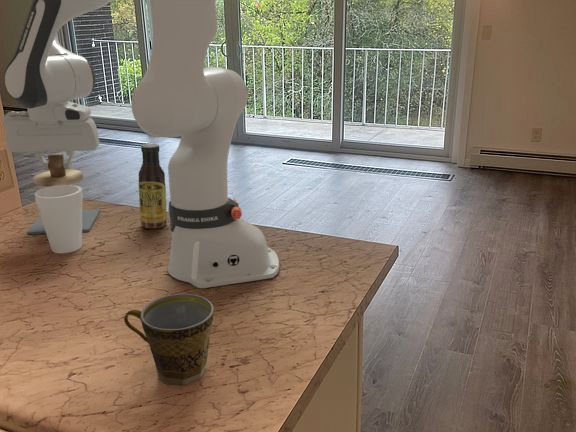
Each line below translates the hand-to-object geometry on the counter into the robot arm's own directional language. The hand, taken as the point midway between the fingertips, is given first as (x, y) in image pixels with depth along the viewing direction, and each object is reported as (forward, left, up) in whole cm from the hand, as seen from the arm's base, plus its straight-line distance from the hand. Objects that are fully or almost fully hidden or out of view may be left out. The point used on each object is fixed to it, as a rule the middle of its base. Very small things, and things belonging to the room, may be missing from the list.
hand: (57, 169), depth 132 cm
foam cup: (-4, +16, -14) cm, 22 cm away
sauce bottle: (-22, +5, -14) cm, 26 cm away
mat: (0, 0, -14) cm, 14 cm away
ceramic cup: (-30, +64, -14) cm, 72 cm away
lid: (0, 0, -3) cm, 3 cm away
